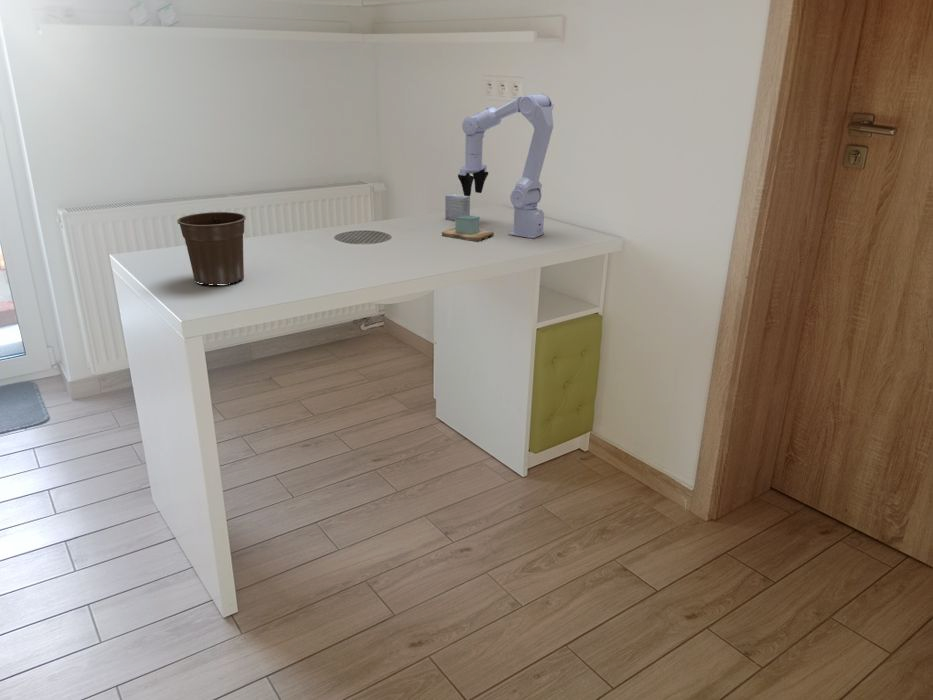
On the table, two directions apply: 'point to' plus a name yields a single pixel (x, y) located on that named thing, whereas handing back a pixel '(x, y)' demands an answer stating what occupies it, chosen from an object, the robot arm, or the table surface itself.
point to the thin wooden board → (474, 237)
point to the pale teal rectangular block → (467, 224)
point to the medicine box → (456, 206)
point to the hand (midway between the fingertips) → (472, 194)
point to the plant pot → (215, 246)
